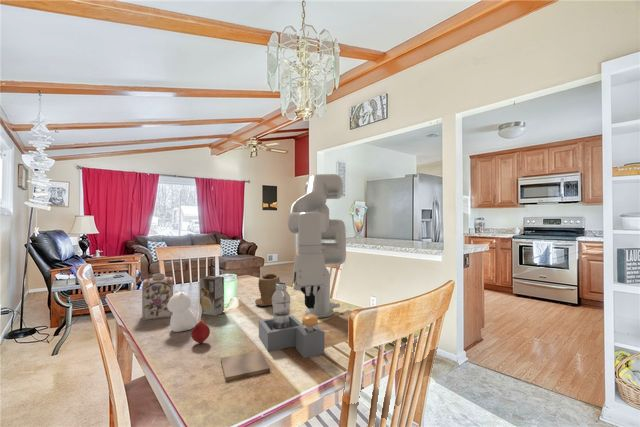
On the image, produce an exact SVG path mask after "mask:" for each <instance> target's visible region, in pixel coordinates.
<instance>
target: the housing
mask: <svg viewBox="0 0 640 427" xmlns="http://www.w3.org/2000/svg"><path fill="white" fill-rule="evenodd" d="M273 319H274V317H272V318H264V319H258V338H259V339H260V341H261V343H262V344H263V346H264V348H265V349H266V351H267V352H272V351H277V350H282V349H289V348H293V347H295V349H296V350H297V352H298V353H299V354H300V355H301V356H302V358H303V359H306V358H307V359H308V358H311V357H316V356H320V355H321V356H322V355H325V331H324V329H322V328H320V326H318V324H317V325H315V326H313V331H311V332H307V326H305V325H303V324H302V321H300V320H299V319H298V318H296V317H295V315H294V314H292V315H291V314H290V315H289V324H290V328H284V329H277V330H272V329H273Z"/></svg>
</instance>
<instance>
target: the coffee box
mask: <svg viewBox="0 0 640 427" xmlns="http://www.w3.org/2000/svg"><path fill="white" fill-rule="evenodd" d="M224 285H225V277H224V276H217V275H215V276H214V275H206V276H203V277H200V278H199V304H200V305H201V307H202V315H206V316H207V315H208V316H214V317H215V316H218V315H220V314H223V313H224V312H225V286H224ZM223 311H224V312H223ZM222 312H223V313H222Z"/></svg>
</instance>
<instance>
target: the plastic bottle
mask: <svg viewBox="0 0 640 427" xmlns="http://www.w3.org/2000/svg"><path fill="white" fill-rule="evenodd" d="M287 289H288V286H287V282H281V281H280V282H279V283H276V291H275V293H274V294H273V296H272V305H271V306H272V311H273V312H272V313H273V318H274V319H273V329H272V330H277V329H284V328H290V324H289V316H290V306H291V295H290V293H289V291H287Z"/></svg>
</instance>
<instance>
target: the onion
mask: <svg viewBox="0 0 640 427" xmlns="http://www.w3.org/2000/svg"><path fill="white" fill-rule="evenodd" d="M210 333H211V330H210V327H209V325H208V324H207V323H205V322H204V320H203V319H200V321H199V322H198V324H196V325H195V326H194V327H193V328H192V329H191V338H192V340H193V341H194V342H196V343H197V344H199V345H200V344H203V343H204V342H205V341H206V340H207V339H208V338H209V336H210Z"/></svg>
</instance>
